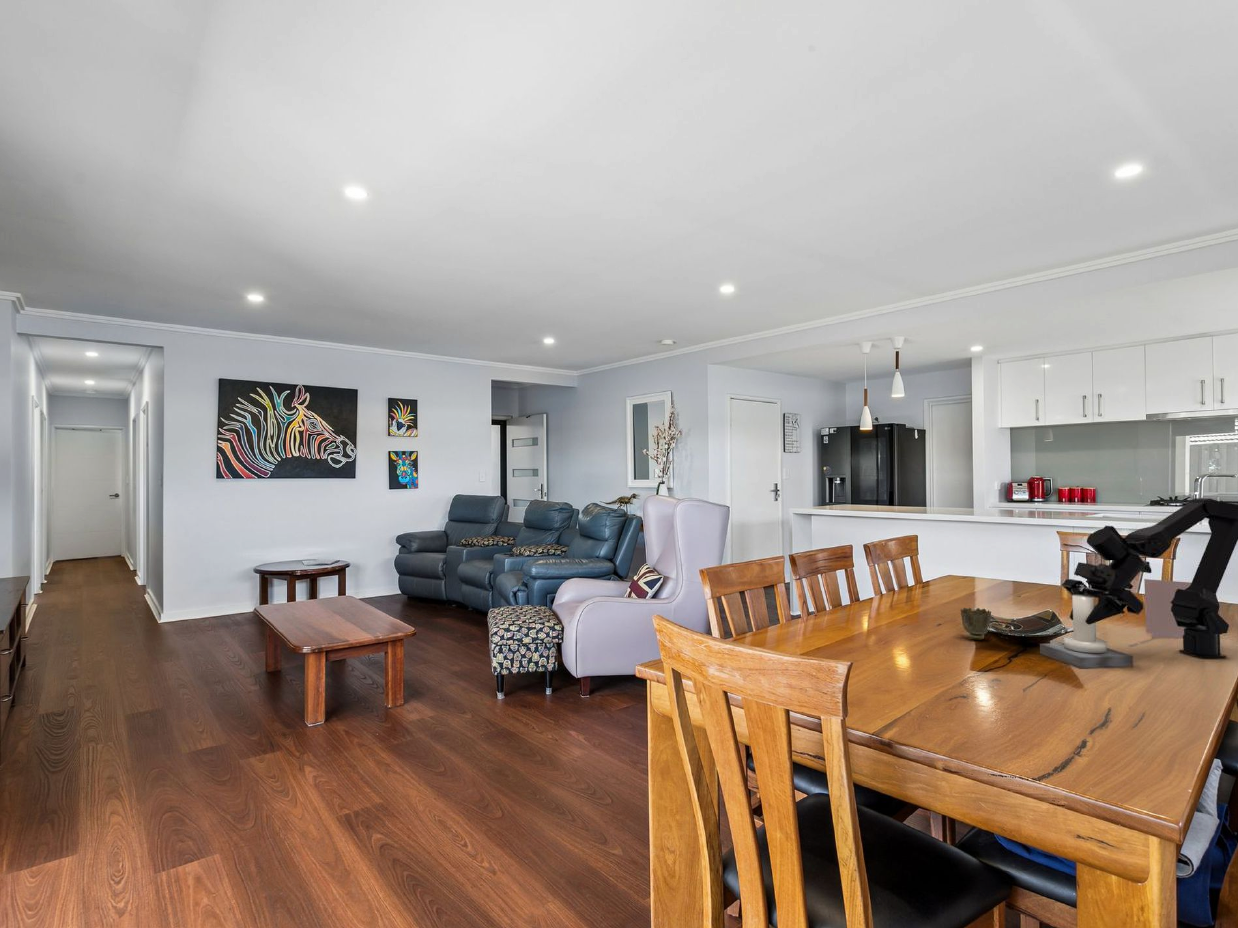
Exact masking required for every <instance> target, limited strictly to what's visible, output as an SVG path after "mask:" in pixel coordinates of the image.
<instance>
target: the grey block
mask: <svg viewBox="0 0 1238 928" xmlns="http://www.w3.org/2000/svg"><path fill="white" fill-rule="evenodd" d="M1039 653H1040V655H1042V656H1044V657H1045V656H1046V657H1048V658H1051V659H1052V660H1055V661H1059V662H1062V663H1064V664H1067V665H1070V666H1072V667H1076V668H1079V669H1104V668H1105V669H1107V668H1124V667H1125V668H1126V667H1127V668H1128V667H1129V666H1132V667H1134V657H1133V655H1132V654H1129V653H1125V652H1122V651H1119V650H1115V649H1113V648H1110V647H1107V652H1104V653H1087V652H1079V651H1074V650H1070V649H1067V648H1065V647H1064V642H1059V643H1058V642H1057V643H1056V642H1055V643H1040V644H1039Z"/></svg>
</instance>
